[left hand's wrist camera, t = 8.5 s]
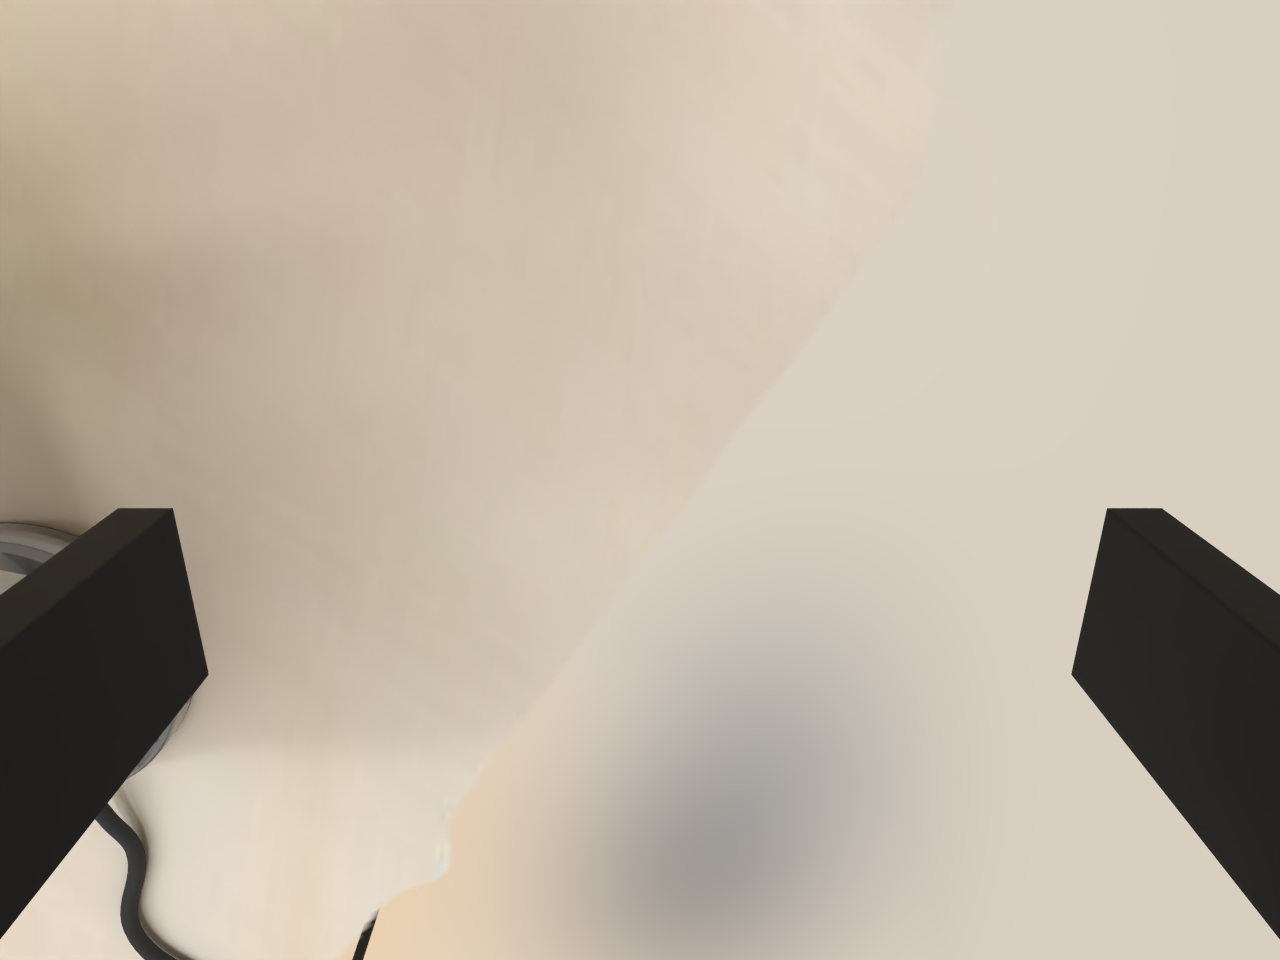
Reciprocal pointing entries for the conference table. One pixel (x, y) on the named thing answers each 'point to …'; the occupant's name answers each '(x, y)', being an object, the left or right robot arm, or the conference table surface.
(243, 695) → the conference table surface
